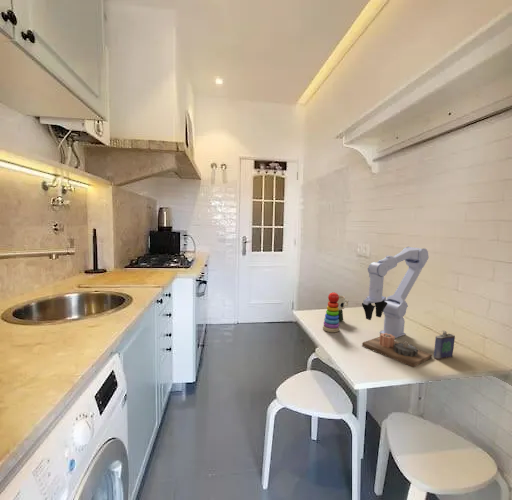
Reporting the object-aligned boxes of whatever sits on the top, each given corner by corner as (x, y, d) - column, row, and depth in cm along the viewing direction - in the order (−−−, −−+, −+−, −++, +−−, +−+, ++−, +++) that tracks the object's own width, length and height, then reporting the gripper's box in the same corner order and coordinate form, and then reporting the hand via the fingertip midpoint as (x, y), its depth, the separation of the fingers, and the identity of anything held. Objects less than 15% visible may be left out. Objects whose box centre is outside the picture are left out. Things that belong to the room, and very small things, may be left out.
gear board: (381, 339, 138) (382, 327, 137) (431, 358, 120) (432, 344, 119) (362, 345, 130) (363, 333, 129) (413, 367, 112) (414, 353, 111)
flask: (437, 360, 118) (440, 333, 117) (430, 357, 121) (433, 331, 120) (454, 357, 121) (457, 331, 120) (447, 354, 124) (450, 328, 123)
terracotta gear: (384, 340, 132) (385, 332, 131) (396, 345, 127) (397, 336, 127) (376, 343, 129) (377, 334, 128) (389, 348, 124) (389, 339, 123)
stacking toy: (322, 331, 145) (324, 293, 143) (322, 326, 152) (324, 289, 150) (339, 333, 143) (341, 295, 141) (339, 328, 151) (341, 291, 149)
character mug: (328, 322, 159) (329, 298, 157) (325, 317, 166) (326, 294, 164) (349, 322, 158) (350, 298, 157) (345, 318, 165) (346, 295, 164)
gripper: (377, 285, 144) (375, 313, 145) (358, 288, 136) (356, 317, 137) (391, 288, 138) (388, 317, 139) (372, 291, 130) (369, 322, 131)
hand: (373, 318), depth 138 cm, fingers open, 7 cm apart
